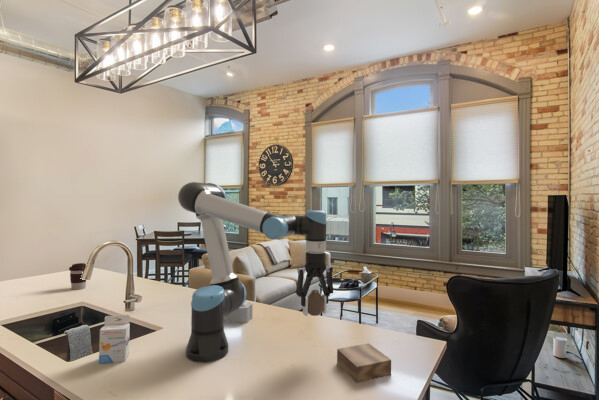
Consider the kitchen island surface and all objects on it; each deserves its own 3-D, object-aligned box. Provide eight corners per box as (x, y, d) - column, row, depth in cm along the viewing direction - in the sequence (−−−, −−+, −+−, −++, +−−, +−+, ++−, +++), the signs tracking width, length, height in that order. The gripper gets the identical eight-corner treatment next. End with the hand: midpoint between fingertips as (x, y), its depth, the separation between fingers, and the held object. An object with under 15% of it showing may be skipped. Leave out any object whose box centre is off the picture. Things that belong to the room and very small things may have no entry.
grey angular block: (244, 324, 148) (244, 305, 147) (219, 321, 152) (219, 302, 152) (254, 317, 157) (254, 299, 157) (231, 313, 162) (231, 296, 161)
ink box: (98, 364, 111) (98, 321, 111) (103, 357, 116) (104, 315, 116) (125, 361, 113) (126, 319, 113) (129, 355, 118) (130, 314, 118)
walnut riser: (356, 382, 102) (357, 366, 102) (337, 363, 114) (337, 348, 114) (391, 375, 107) (391, 359, 107) (368, 356, 119) (368, 343, 119)
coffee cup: (64, 290, 197) (64, 265, 197) (78, 285, 207) (78, 262, 207) (78, 291, 195) (79, 266, 195) (92, 286, 205) (92, 263, 205)
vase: (311, 318, 117) (311, 294, 116) (302, 312, 123) (302, 289, 123) (327, 315, 120) (327, 292, 120) (317, 309, 126) (318, 287, 126)
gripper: (294, 254, 114) (293, 320, 114) (344, 252, 121) (342, 313, 121) (287, 251, 121) (286, 313, 121) (334, 249, 128) (333, 307, 128)
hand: (314, 313), depth 121 cm, fingers closed on vase, 7 cm apart
